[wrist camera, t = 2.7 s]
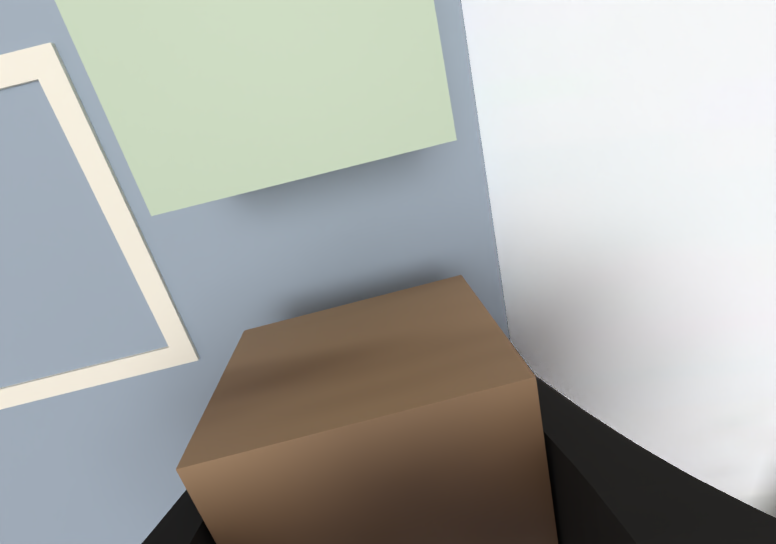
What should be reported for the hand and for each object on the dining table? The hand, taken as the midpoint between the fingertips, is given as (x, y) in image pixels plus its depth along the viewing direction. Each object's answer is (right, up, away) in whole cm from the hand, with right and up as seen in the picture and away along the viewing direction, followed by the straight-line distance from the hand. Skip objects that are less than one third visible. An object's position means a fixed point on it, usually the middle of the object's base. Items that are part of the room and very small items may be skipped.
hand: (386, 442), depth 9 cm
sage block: (-2, +9, +1) cm, 9 cm away
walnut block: (0, +1, +2) cm, 2 cm away
